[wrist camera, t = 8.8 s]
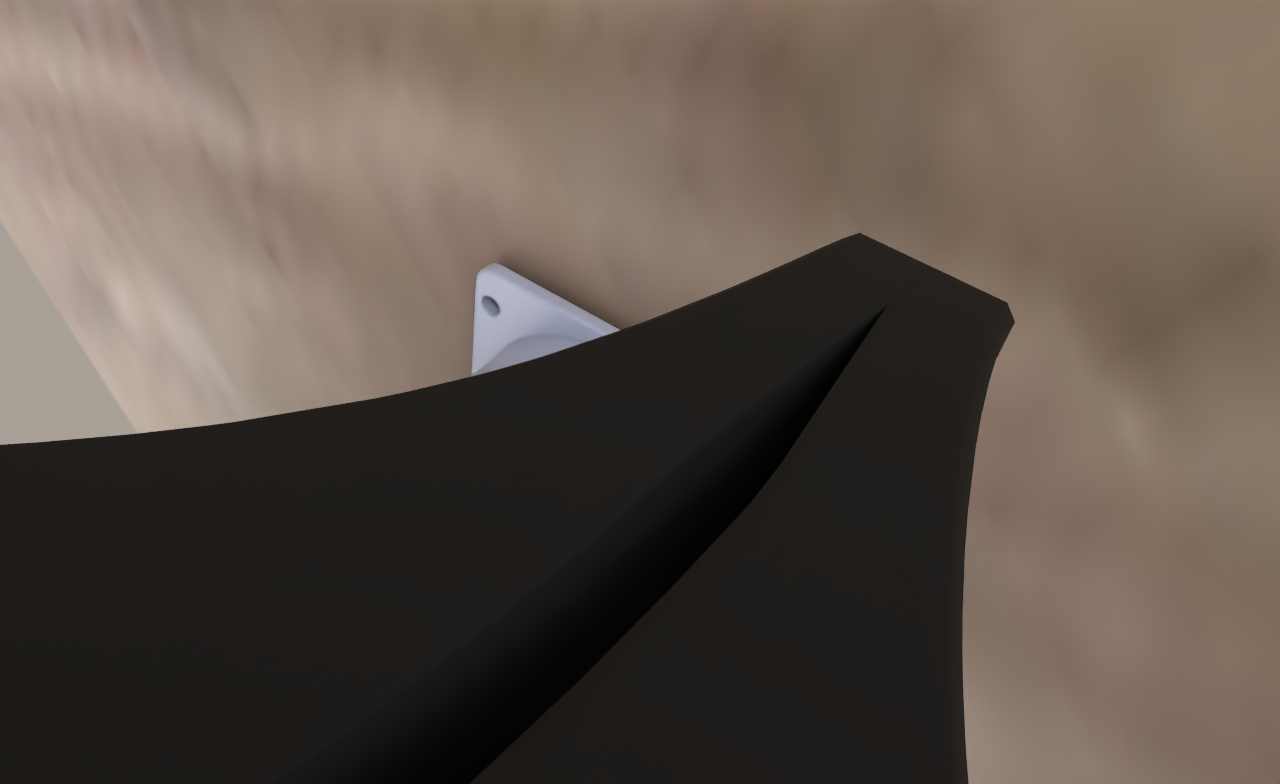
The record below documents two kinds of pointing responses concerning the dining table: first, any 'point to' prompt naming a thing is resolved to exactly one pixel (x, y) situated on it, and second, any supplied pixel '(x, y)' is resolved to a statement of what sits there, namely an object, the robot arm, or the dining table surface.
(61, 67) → the dining table surface
